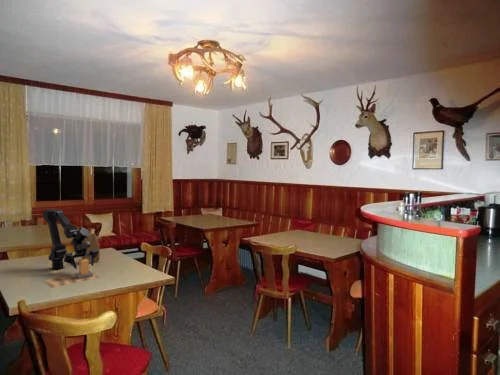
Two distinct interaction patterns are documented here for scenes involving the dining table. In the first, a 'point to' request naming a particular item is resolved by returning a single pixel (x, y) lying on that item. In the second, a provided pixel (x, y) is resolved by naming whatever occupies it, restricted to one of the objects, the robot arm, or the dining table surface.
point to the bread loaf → (92, 246)
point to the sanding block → (83, 269)
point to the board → (66, 280)
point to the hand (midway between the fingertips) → (84, 267)
